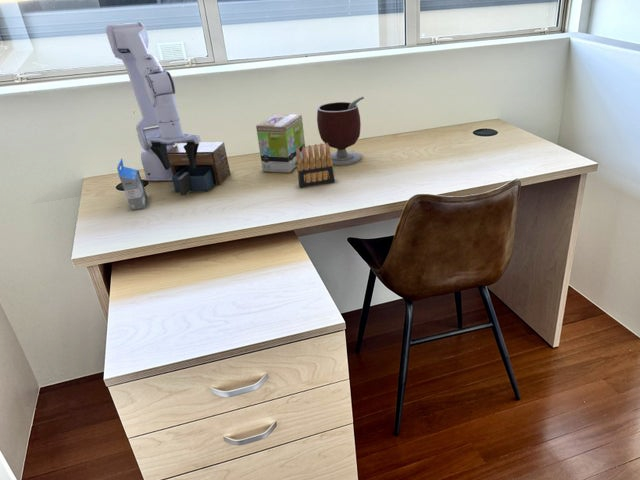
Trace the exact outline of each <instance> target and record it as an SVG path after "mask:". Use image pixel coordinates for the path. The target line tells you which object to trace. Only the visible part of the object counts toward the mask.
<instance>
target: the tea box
mask: <svg viewBox="0 0 640 480" xmlns="http://www.w3.org/2000/svg"><path fill="white" fill-rule="evenodd" d="M255 128H256V135H257V142H258V148H259V155H260V159H261V160H260V163H261V168H262V169H261V170H262V172H270V173H271V172H272V173H291V172H292V171H293V170H294V169H296V168H297V156H296V148H297V147H298V148H299V151H300V155H301V159H302V162H303V154H302V148H303V146H304V147H305V148H306V140H305V132H304V123H303V116H302V114H288V113H287V114H285V113H274V114H273V115H271V116H269V117H267V118H266V119H264V120H263V121H261V122H260V123H258V124H256V126H255Z"/></svg>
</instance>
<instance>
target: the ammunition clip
mask: <svg viewBox="0 0 640 480" xmlns="http://www.w3.org/2000/svg"><path fill="white" fill-rule="evenodd" d="M330 148H331V147H329V145H328V143H326V144H325V148H324V145H323V143H322V142H321V143H320V145H319V149H318V146H317V144H316V143H315V144H314V147H313V148H312V146H311V145H310V144H308V149H307V150H306V146H305V147H304V146H303V148H302V154H303V161H302V159H301V155H300V151H299V148H298V147H297V148H296V156H297V166H296V168H297V179H298V187H299V189H304V188H309V187H316V186H322V185H328V184H333V183H335V182H336V179H335V173H334V167H333V166H334V165H332V158H331V149H330ZM307 151H308V155H307ZM313 152H314V153H313ZM325 156H326V157H325Z"/></svg>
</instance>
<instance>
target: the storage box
mask: <svg viewBox="0 0 640 480" xmlns="http://www.w3.org/2000/svg"><path fill="white" fill-rule="evenodd" d="M171 182H172V184H173V188H174V192H176V193H177V192H179V194H180V196H181V197H186V196H187V194H189V193H190V192H209V191H210V190H211V189H212V188H213V187H214V185H216V182H215V177H214V173H213V168H212V166H196V168H195V169H191V167H190V166H184V167H183V168H182V169H181V170H180V171H178V172H177V173H176V174H175V175H174V176H173V177H172V180H171Z"/></svg>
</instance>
